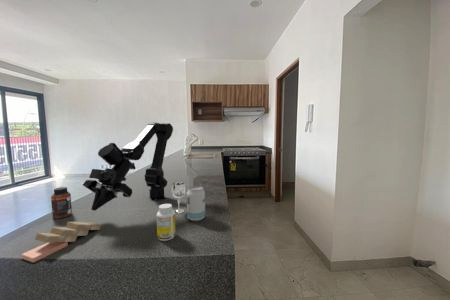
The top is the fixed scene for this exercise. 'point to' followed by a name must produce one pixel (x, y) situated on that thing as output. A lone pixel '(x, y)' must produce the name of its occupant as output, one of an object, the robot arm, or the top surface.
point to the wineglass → (178, 194)
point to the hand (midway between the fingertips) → (93, 210)
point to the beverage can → (196, 203)
